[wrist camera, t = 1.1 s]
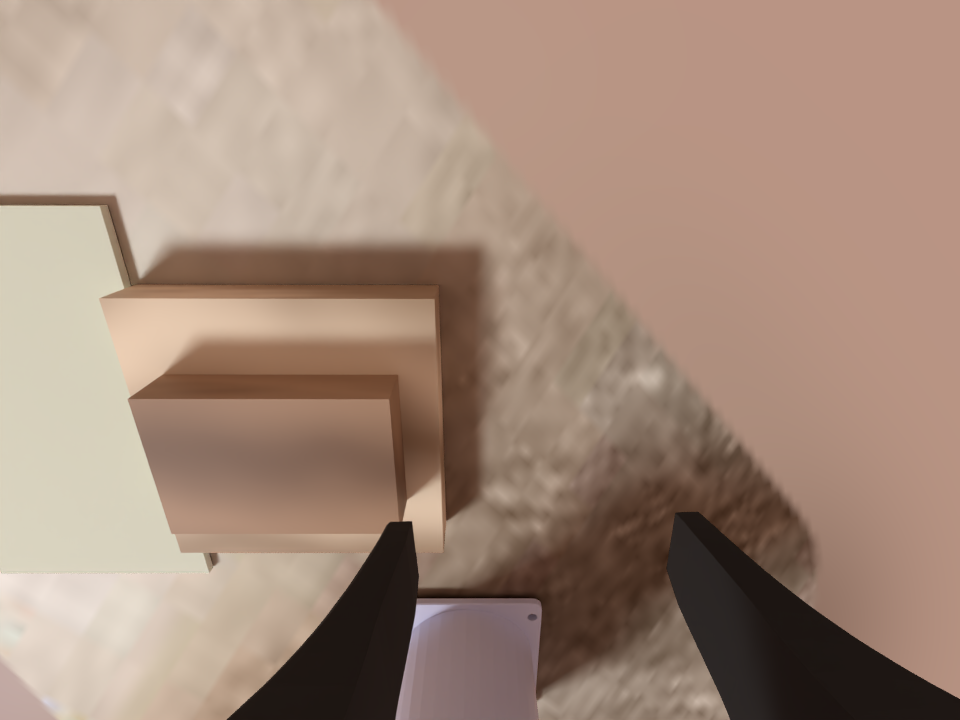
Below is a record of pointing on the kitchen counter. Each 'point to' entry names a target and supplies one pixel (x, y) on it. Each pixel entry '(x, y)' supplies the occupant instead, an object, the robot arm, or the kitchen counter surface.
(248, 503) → the walnut tile
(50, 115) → the kitchen counter surface
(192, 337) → the block
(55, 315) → the sage mat
